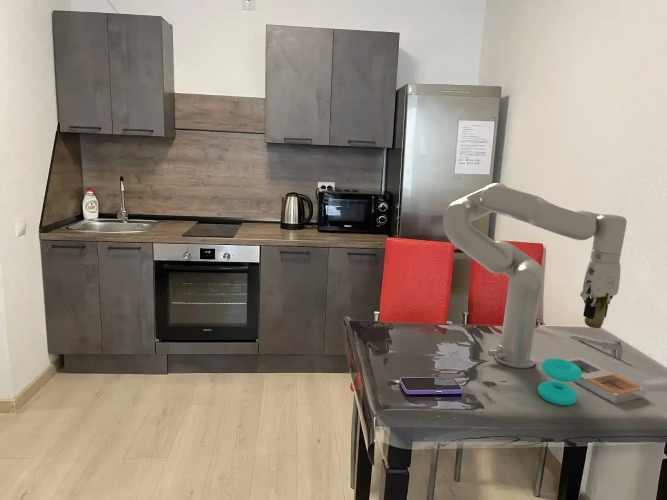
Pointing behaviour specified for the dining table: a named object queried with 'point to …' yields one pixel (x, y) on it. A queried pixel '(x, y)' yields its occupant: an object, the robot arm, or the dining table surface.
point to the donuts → (555, 389)
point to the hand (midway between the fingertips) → (594, 316)
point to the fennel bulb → (598, 312)
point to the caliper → (603, 345)
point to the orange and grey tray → (614, 387)
